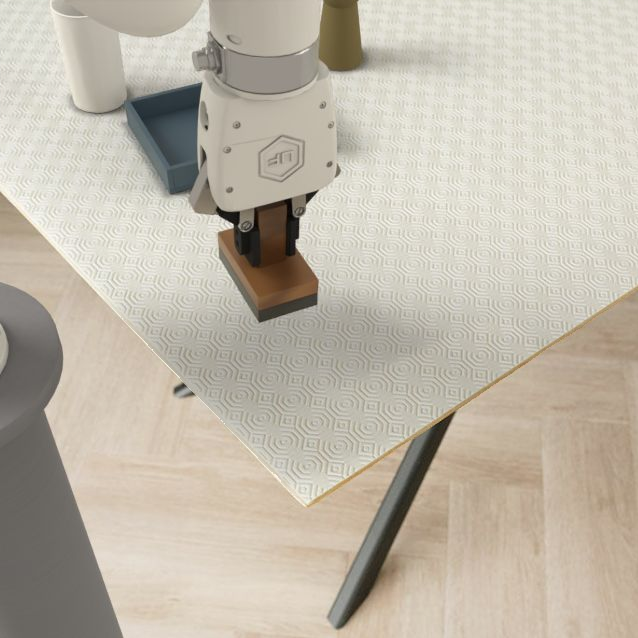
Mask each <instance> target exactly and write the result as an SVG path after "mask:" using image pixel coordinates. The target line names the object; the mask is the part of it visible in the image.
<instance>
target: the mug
mask: <svg viewBox="0 0 638 638" xmlns="http://www.w3.org/2000/svg"><path fill="white" fill-rule="evenodd" d="M49 7H50V11H51V17H52V20H53V26H54V30H55V33H56V37H57V41H58V45H59V50H60V54H61V57H62V62H63V66H64V69H65V75H66V78H67V83H68V86H69V90H70V93H71V97H72V100H73V103H74V105H75V107H76V108H78V109H79V110H81V111H84V112H86V113H93V114H100V113H101V114H102V113H109V112H111V111H115V110H116V109H118V108H120V107H122V106H123V105H124V101H125V100H128V99H127V98H128V91H127V84H126V83H127V82H126V77H125V76H126V75H125V68H124V62H123V53H122V47H121V41H120V32H118V31H115V30H113V29H111V28H108V27H106V26H104V25H102V24H100V23H98V22H96V21H94V20H93V19H91V18H89V17H88V16H86V15H85V14H83V13H81V12H80V11H78V10H77V9H75V8H74V7H72V6H71V5H69V4H68V3H67V2H65V1H64V0H50V2H49Z"/></svg>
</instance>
